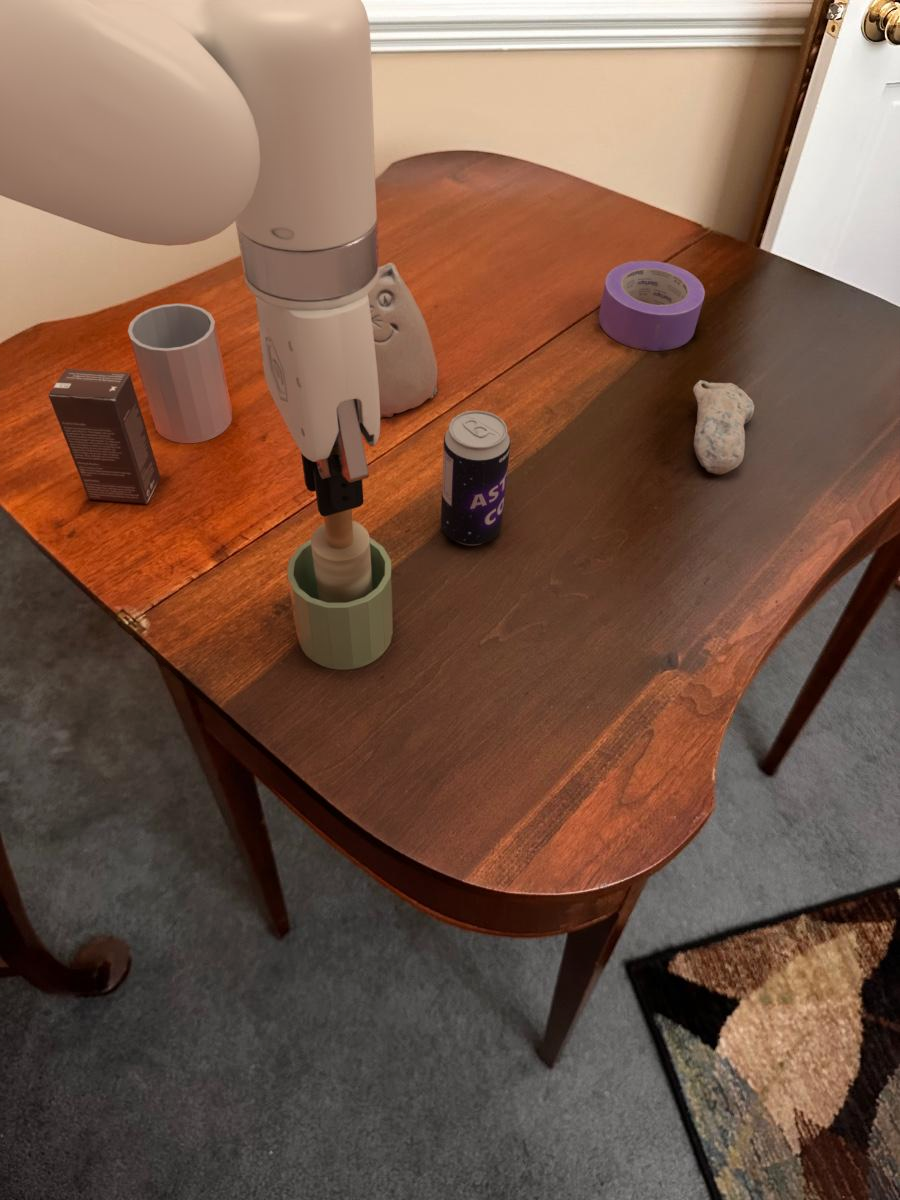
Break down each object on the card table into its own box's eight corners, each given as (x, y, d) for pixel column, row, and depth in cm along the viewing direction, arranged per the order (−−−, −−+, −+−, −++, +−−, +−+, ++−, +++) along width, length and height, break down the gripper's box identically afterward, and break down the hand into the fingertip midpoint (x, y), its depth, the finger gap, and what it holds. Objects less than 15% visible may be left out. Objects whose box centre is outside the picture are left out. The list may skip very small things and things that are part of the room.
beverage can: (467, 560, 79) (474, 459, 70) (428, 525, 82) (430, 424, 73) (512, 533, 82) (525, 432, 73) (473, 500, 85) (481, 399, 75)
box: (162, 474, 86) (131, 371, 76) (147, 506, 83) (114, 402, 73) (102, 469, 86) (64, 365, 77) (85, 500, 83) (44, 396, 74)
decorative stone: (755, 486, 87) (771, 447, 83) (688, 478, 88) (701, 438, 84) (746, 406, 96) (760, 367, 92) (685, 399, 96) (697, 360, 92)
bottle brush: (328, 619, 68) (308, 462, 56) (310, 580, 70) (288, 422, 58) (380, 602, 69) (372, 445, 57) (361, 565, 72) (349, 407, 60)
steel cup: (163, 451, 88) (137, 358, 79) (147, 405, 93) (120, 312, 84) (241, 432, 90) (223, 340, 82) (221, 388, 95) (202, 296, 86)
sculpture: (335, 430, 91) (324, 300, 79) (308, 367, 98) (294, 239, 86) (451, 407, 94) (456, 279, 83) (416, 347, 101) (416, 221, 90)
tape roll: (697, 355, 102) (708, 317, 98) (598, 346, 103) (605, 308, 99) (691, 302, 110) (701, 264, 106) (598, 293, 110) (605, 256, 106)
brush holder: (315, 682, 70) (306, 620, 64) (285, 612, 75) (274, 547, 69) (407, 651, 72) (406, 588, 66) (372, 585, 77) (369, 520, 71)
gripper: (206, 198, 51) (252, 442, 65) (288, 341, 42) (320, 589, 56) (327, 178, 54) (346, 419, 68) (429, 310, 44) (427, 557, 58)
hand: (334, 495), depth 62 cm, fingers closed on bottle brush, 2 cm apart
